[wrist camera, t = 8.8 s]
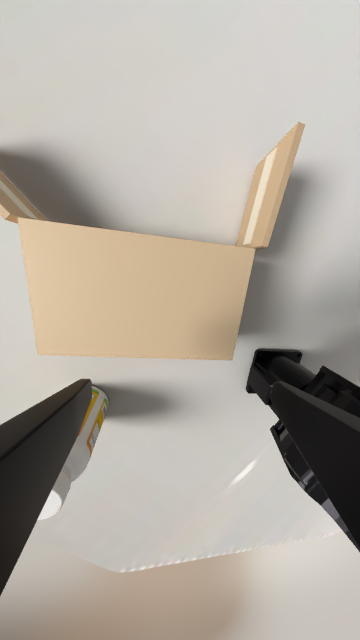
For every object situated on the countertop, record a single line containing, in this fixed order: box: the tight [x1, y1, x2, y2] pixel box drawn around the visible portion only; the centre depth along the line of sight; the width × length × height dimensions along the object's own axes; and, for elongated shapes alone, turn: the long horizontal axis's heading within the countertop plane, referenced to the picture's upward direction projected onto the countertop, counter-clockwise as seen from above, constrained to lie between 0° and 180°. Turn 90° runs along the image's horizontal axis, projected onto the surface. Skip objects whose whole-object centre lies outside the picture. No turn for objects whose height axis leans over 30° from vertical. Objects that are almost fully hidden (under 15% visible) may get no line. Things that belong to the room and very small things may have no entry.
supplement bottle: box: [37, 386, 108, 520], centre depth 17 cm, size 5×5×10 cm
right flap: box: [236, 122, 305, 249], centre depth 14 cm, size 8×1×5 cm, turn 169°
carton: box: [17, 217, 256, 360], centre depth 16 cm, size 16×10×6 cm, turn 84°
